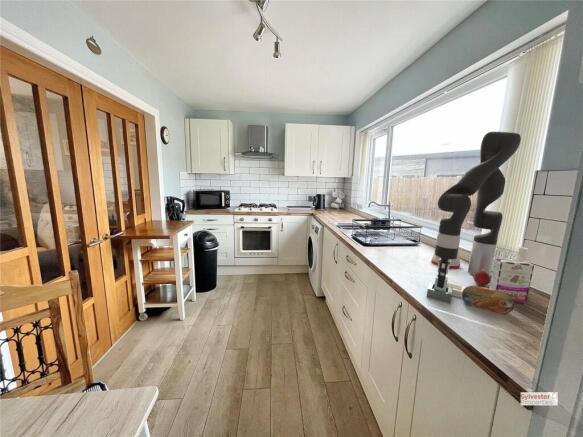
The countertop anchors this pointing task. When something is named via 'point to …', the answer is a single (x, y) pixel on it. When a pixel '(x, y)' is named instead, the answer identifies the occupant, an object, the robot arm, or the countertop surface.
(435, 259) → the white dome
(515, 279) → the candy bar box
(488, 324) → the countertop surface
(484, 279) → the onion
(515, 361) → the countertop surface
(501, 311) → the tin
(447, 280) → the plug
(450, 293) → the block
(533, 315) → the countertop surface
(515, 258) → the bath foam
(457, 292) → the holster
